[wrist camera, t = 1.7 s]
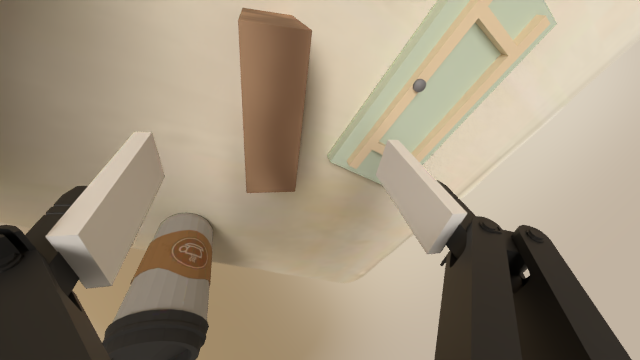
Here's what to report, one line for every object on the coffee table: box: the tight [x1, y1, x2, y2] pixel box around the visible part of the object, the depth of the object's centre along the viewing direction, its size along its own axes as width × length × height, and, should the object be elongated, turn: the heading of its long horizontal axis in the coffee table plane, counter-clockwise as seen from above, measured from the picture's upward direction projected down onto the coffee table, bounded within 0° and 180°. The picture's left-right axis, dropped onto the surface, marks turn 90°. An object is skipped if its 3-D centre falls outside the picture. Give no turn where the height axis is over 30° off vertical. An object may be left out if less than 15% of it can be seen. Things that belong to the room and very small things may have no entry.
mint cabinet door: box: [327, 0, 557, 185], centre depth 27 cm, size 12×24×3 cm, turn 147°
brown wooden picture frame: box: [238, 8, 312, 193], centre depth 20 cm, size 4×12×9 cm, turn 172°
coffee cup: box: [102, 213, 213, 360], centre depth 27 cm, size 8×8×15 cm
